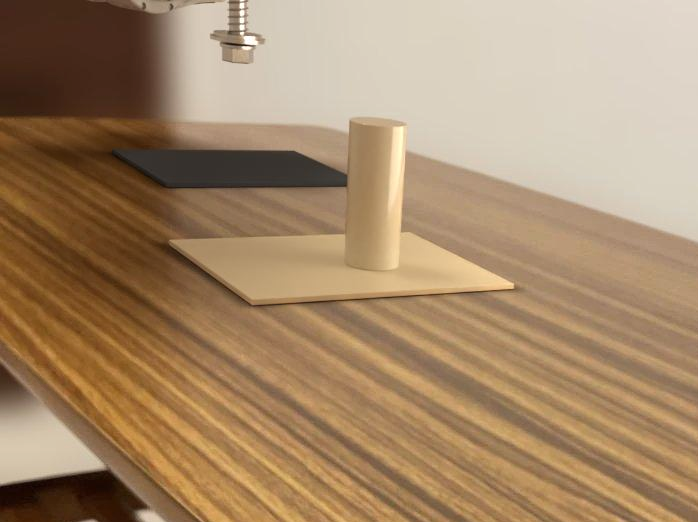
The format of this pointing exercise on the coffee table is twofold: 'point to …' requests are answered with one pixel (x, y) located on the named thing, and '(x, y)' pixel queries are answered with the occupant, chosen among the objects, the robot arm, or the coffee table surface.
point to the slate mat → (231, 168)
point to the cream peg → (374, 193)
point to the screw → (237, 35)
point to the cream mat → (330, 269)
